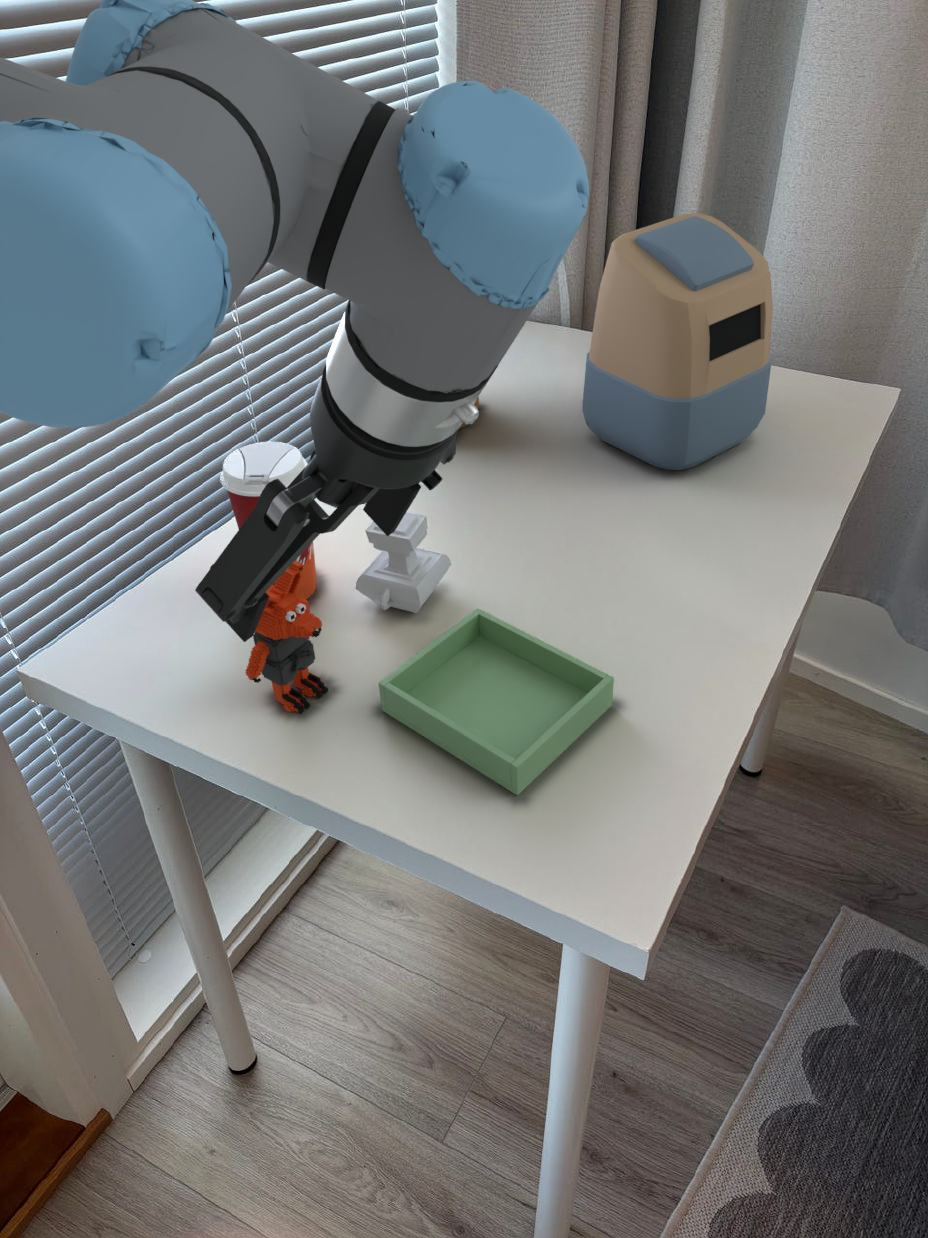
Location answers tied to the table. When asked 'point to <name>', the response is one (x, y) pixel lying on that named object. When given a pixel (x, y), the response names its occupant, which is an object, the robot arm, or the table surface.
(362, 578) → the stamp
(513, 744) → the tray
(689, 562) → the table surface
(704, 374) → the tan blue tapered box
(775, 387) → the table surface
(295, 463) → the paper cup
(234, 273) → the robot arm
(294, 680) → the toy animal
